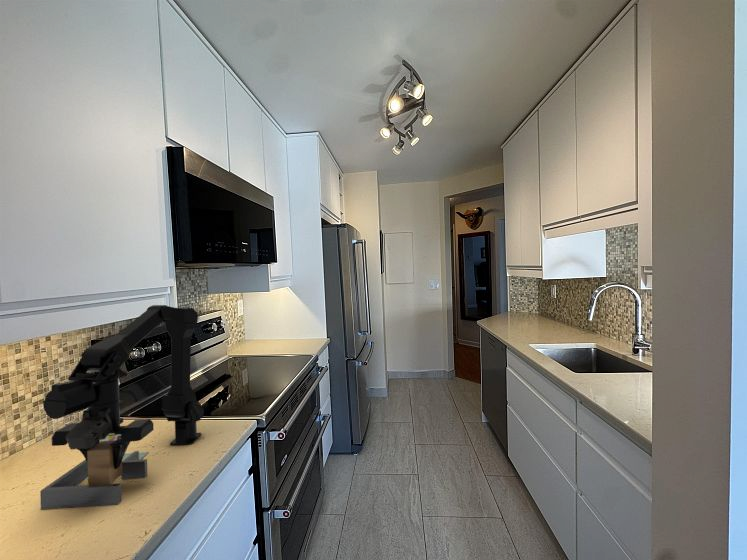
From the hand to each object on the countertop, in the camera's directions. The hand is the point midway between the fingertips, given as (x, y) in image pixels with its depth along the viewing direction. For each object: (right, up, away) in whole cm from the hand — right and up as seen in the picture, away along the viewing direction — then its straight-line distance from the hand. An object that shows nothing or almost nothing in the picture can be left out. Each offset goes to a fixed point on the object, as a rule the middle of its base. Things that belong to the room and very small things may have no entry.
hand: (105, 468), depth 79 cm
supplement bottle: (-19, -5, +23) cm, 30 cm away
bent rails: (-2, -5, +2) cm, 6 cm away
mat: (-5, -5, +13) cm, 15 cm away
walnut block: (0, -3, 0) cm, 2 cm away
